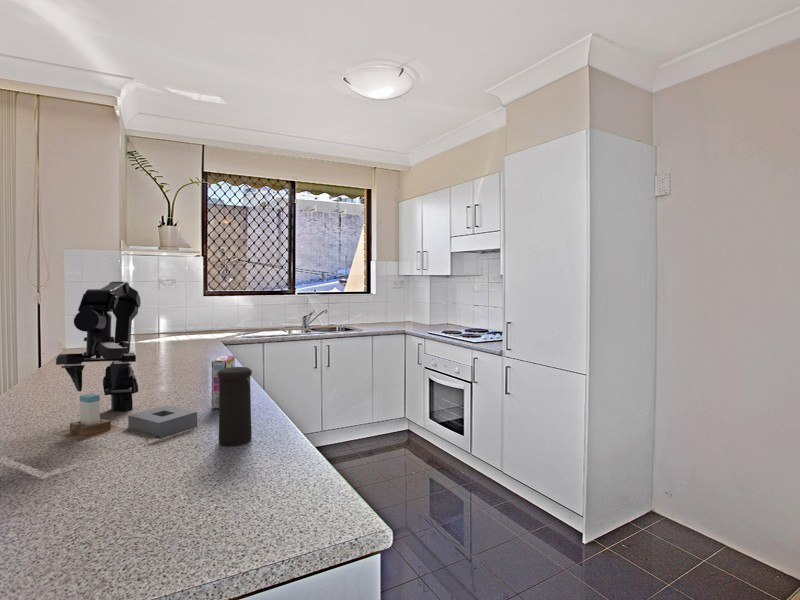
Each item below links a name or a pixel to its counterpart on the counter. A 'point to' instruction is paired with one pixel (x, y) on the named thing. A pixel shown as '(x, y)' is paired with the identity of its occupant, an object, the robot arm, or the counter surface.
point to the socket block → (163, 421)
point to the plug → (90, 409)
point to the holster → (89, 430)
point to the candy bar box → (217, 366)
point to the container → (234, 406)
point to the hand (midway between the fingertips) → (97, 389)
